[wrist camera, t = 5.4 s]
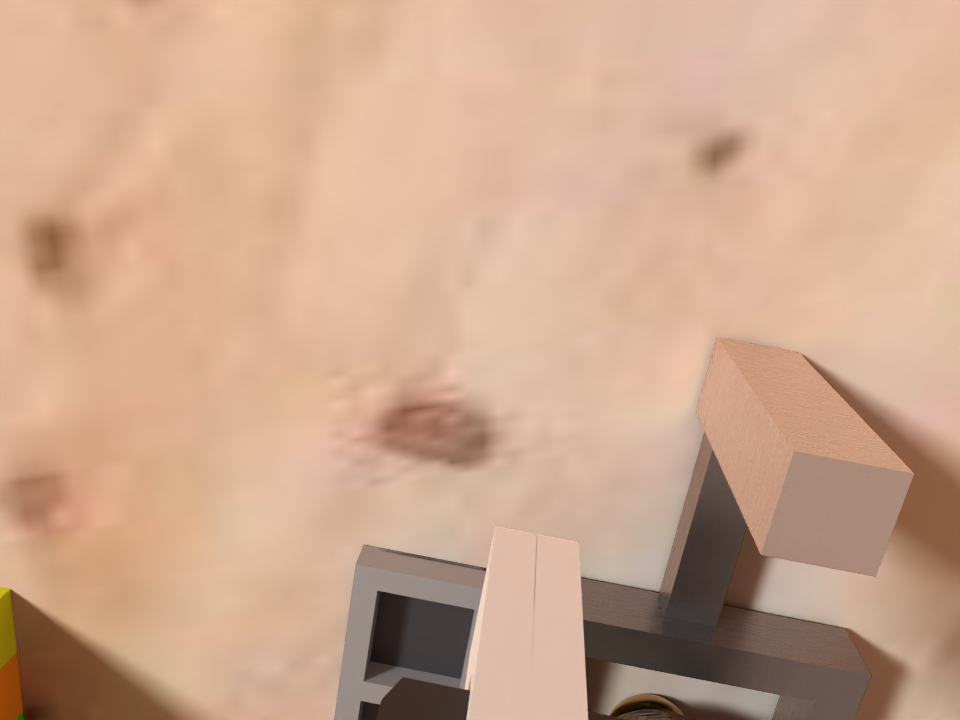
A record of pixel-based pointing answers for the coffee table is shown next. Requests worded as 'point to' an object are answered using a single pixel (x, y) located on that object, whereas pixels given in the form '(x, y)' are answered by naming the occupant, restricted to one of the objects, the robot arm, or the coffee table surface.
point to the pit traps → (405, 626)
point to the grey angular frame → (762, 537)
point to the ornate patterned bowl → (647, 709)
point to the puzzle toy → (9, 663)
